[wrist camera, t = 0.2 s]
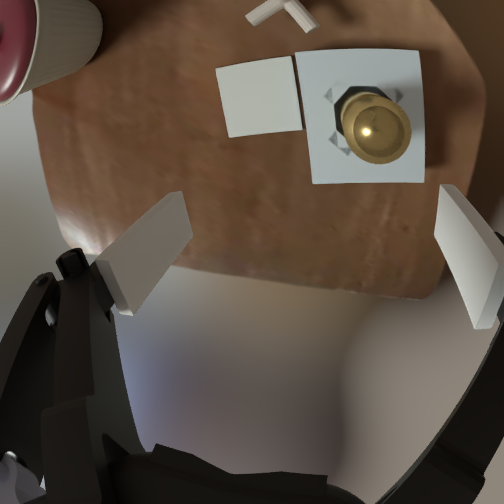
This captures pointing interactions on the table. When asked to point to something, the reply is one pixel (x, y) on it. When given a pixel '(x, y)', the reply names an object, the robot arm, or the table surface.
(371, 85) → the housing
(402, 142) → the gold metal cylinder
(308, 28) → the pipe connector
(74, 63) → the canister
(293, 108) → the mat
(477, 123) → the table surface
